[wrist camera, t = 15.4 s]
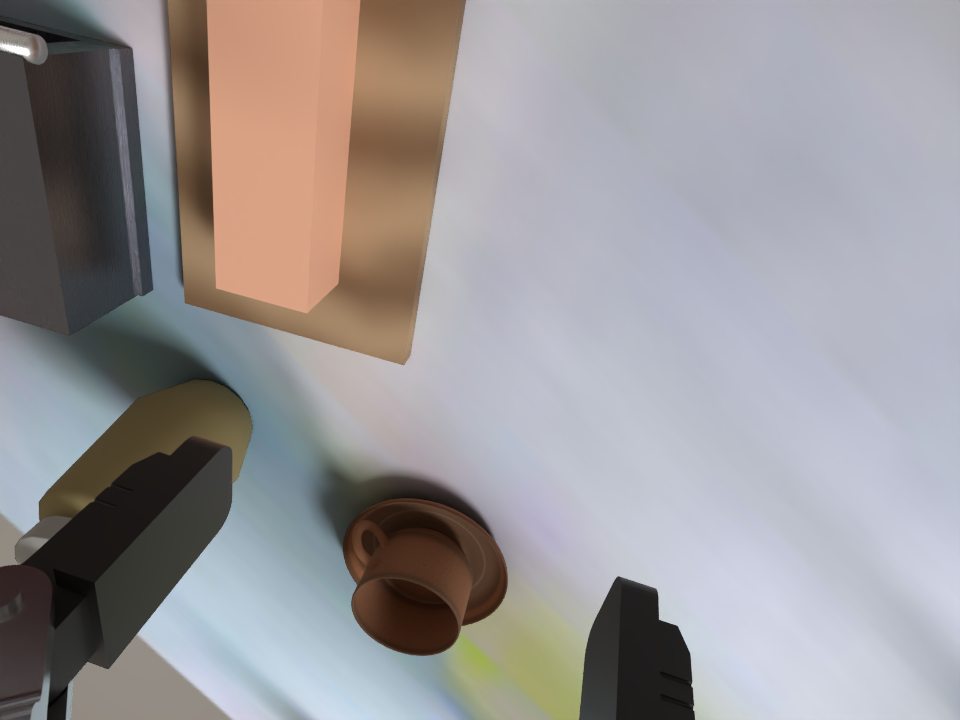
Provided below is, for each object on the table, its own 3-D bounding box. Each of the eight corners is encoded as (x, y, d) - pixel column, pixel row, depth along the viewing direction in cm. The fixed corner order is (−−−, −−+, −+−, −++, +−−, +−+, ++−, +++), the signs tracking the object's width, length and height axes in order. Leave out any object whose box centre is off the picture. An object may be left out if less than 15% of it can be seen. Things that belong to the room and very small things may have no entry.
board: (170, -265, 26) (151, -275, 25) (497, -199, 25) (490, -207, 24) (196, 295, 40) (184, 303, 39) (410, 355, 39) (403, 365, 38)
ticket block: (256, -129, 27) (201, -148, 24) (368, -106, 27) (329, -121, 23) (255, 261, 36) (216, 288, 33) (338, 283, 36) (306, 313, 32)
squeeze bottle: (148, 419, 46) (-95, 629, 31) (180, 341, 42) (-83, 538, 27) (246, 479, 47) (56, 712, 32) (286, 408, 43) (90, 636, 27)
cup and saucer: (328, 549, 49) (290, 615, 44) (399, 454, 43) (365, 517, 38) (458, 628, 50) (437, 702, 45) (545, 547, 44) (532, 621, 39)
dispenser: (-44, -14, 34) (-181, -16, 28) (130, 29, 33) (25, 35, 27) (10, 249, 41) (-89, 289, 36) (153, 290, 40) (74, 336, 35)
